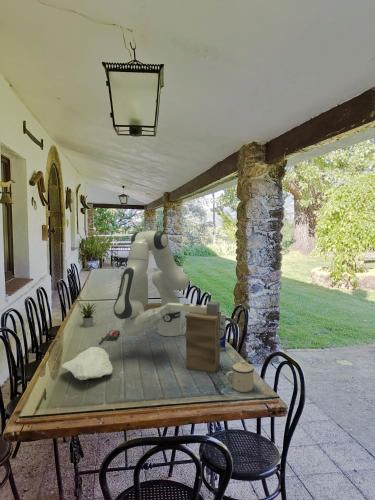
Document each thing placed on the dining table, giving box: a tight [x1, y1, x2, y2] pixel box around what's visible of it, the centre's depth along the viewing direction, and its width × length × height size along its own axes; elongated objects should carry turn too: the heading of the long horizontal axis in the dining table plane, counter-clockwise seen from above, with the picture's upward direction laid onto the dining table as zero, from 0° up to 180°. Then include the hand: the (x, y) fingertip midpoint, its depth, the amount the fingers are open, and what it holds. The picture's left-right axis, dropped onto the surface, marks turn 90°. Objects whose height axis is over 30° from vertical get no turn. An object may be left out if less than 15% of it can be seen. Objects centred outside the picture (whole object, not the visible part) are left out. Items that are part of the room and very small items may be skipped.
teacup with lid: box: [225, 360, 255, 393], centre depth 156 cm, size 12×9×12 cm
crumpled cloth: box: [61, 346, 113, 381], centre depth 171 cm, size 24×35×9 cm
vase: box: [120, 271, 149, 310], centre depth 275 cm, size 20×20×34 cm
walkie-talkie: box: [98, 329, 121, 345], centre depth 217 cm, size 9×4×20 cm
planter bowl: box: [144, 302, 162, 311], centre depth 256 cm, size 16×16×11 cm
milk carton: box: [220, 314, 227, 352], centre depth 201 cm, size 7×7×20 cm
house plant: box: [79, 302, 98, 328], centre depth 243 cm, size 14×14×16 cm
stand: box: [184, 311, 222, 374], centre depth 177 cm, size 12×15×26 cm
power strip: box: [166, 300, 221, 315], centre depth 181 cm, size 6×26×5 cm, turn 73°
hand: (172, 306), depth 184 cm, fingers open, 8 cm apart
